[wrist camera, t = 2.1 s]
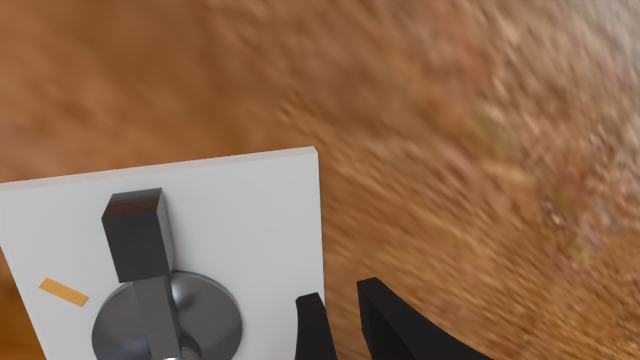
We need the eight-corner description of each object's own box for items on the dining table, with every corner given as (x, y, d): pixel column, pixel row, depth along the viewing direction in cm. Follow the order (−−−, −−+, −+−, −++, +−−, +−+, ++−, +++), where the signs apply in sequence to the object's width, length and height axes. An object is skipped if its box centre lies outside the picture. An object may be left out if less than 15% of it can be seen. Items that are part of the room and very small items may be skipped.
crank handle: (248, 365, 24) (252, 401, 22) (113, 393, 23) (103, 435, 21) (221, 177, 19) (222, 201, 17) (48, 200, 18) (27, 228, 16)
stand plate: (323, 359, 27) (328, 373, 26) (79, 412, 24) (74, 430, 23) (313, 146, 21) (318, 153, 20) (-9, 184, 19) (-22, 195, 18)
